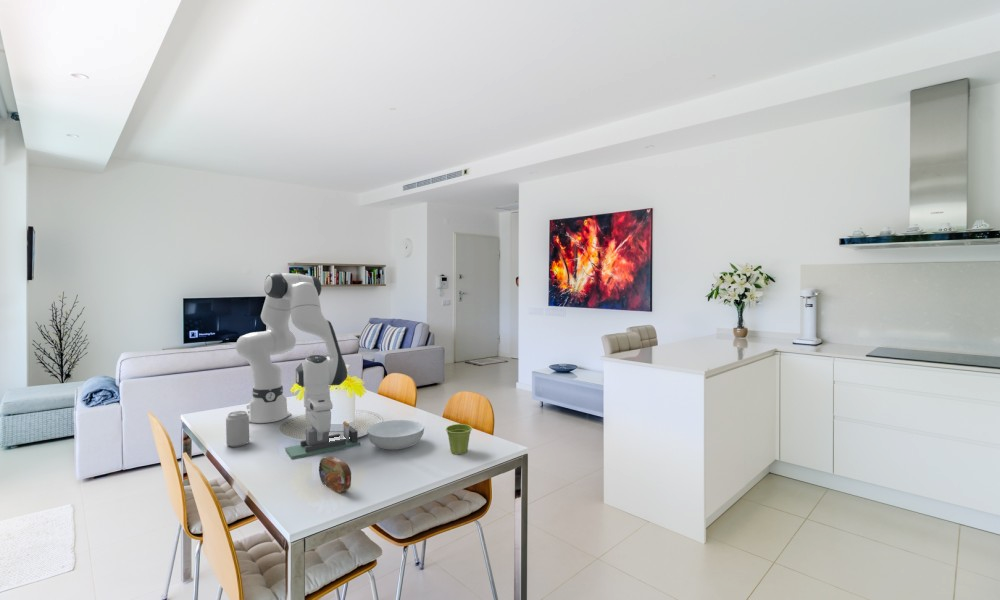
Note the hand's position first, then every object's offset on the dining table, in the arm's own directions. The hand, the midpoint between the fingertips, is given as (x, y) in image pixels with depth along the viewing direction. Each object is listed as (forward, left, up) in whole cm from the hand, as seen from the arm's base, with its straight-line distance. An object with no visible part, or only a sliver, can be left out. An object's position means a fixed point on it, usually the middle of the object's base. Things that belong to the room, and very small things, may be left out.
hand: (317, 437), depth 169 cm
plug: (0, 0, -2) cm, 2 cm away
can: (-22, -23, -4) cm, 32 cm away
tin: (+35, -4, -4) cm, 36 cm away
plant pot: (+32, +41, -4) cm, 52 cm away
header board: (0, +2, -4) cm, 5 cm away
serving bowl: (+13, +25, -4) cm, 29 cm away
